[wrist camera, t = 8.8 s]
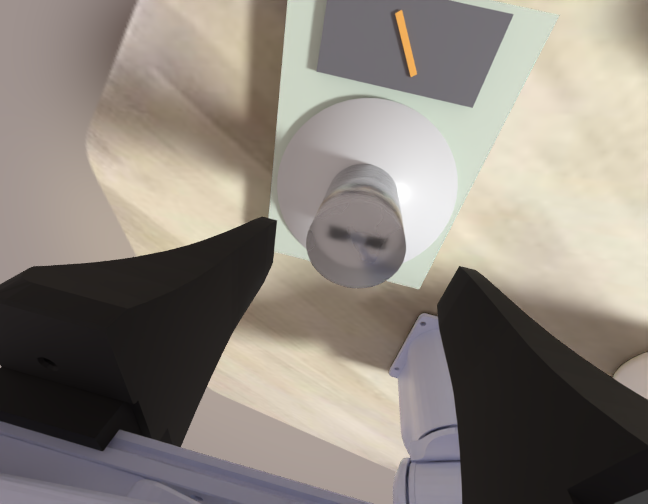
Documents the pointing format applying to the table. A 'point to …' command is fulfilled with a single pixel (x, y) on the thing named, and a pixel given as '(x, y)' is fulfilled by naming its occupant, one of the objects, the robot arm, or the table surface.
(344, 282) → the cylinder
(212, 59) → the table surface
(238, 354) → the table surface
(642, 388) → the alcohol
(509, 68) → the scale
